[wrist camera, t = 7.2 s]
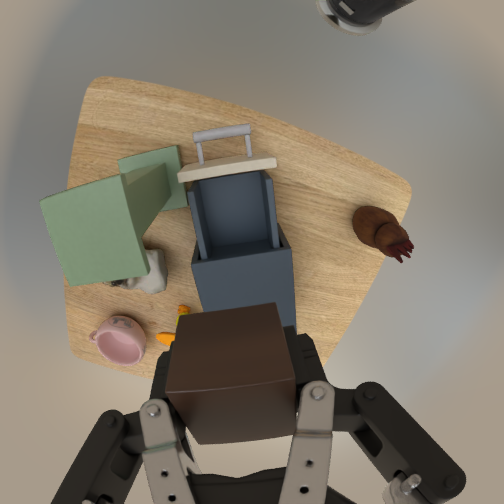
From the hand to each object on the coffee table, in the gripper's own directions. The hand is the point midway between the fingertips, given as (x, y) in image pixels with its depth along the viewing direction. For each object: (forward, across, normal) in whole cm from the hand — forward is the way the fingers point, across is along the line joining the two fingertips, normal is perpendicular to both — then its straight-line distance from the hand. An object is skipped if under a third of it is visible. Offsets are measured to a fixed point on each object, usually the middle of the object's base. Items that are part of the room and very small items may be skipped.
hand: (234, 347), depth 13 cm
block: (0, 0, 0) cm, 0 cm away
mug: (+31, +26, +22) cm, 46 cm away
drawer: (+30, 0, -1) cm, 30 cm away
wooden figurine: (+31, -22, +7) cm, 38 cm away
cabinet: (+31, 0, +13) cm, 33 cm away
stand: (+31, +11, -4) cm, 33 cm away
